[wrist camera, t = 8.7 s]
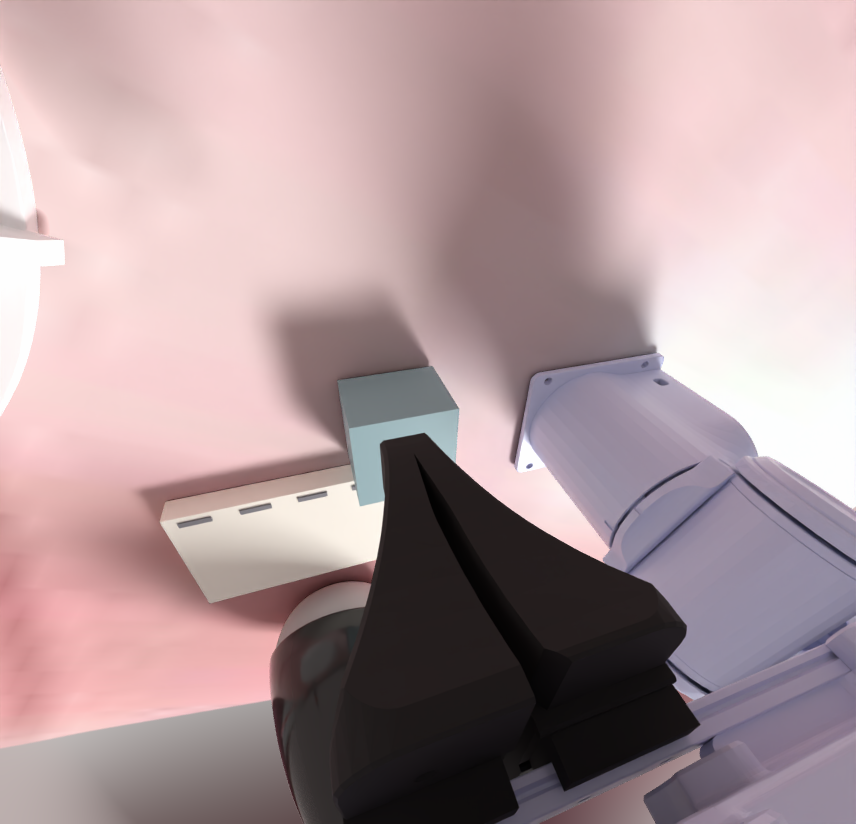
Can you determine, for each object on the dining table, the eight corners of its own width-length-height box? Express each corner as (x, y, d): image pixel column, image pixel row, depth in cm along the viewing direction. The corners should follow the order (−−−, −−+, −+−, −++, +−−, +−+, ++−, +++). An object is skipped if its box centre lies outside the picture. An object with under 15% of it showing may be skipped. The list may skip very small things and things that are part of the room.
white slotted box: (432, 447, 25) (440, 463, 24) (430, 528, 30) (437, 544, 29) (165, 501, 21) (159, 523, 20) (212, 583, 26) (209, 605, 25)
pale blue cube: (432, 366, 21) (459, 408, 18) (431, 438, 24) (454, 484, 21) (337, 380, 20) (348, 428, 17) (348, 454, 23) (359, 506, 20)
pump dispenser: (243, 595, 28) (221, 941, 16) (386, 543, 29) (460, 827, 18) (295, 651, 34) (307, 929, 23) (411, 607, 36) (477, 845, 24)
